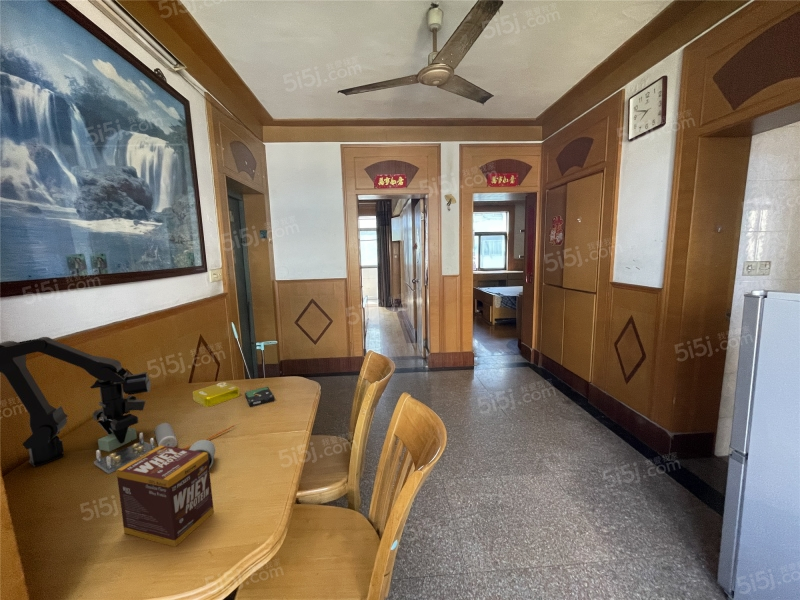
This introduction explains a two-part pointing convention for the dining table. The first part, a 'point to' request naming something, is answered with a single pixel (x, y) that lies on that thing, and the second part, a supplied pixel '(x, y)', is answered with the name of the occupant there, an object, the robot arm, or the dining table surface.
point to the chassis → (123, 455)
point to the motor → (171, 436)
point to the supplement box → (165, 494)
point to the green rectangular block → (115, 440)
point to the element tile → (215, 394)
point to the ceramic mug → (205, 449)
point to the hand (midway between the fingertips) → (118, 440)
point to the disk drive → (259, 396)
